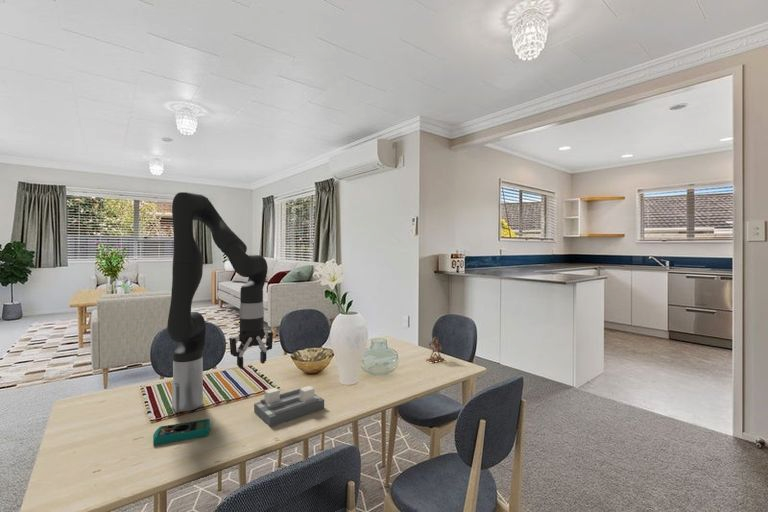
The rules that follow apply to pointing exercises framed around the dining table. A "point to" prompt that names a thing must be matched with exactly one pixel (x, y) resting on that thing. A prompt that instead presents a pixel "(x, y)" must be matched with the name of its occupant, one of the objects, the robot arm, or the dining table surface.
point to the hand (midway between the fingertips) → (251, 365)
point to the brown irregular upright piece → (435, 351)
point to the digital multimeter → (181, 431)
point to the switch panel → (287, 408)
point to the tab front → (306, 393)
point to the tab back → (272, 395)
